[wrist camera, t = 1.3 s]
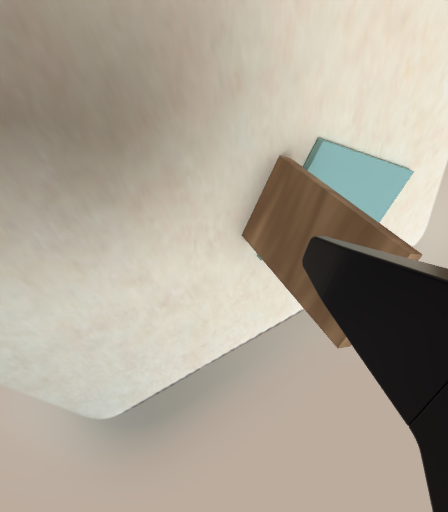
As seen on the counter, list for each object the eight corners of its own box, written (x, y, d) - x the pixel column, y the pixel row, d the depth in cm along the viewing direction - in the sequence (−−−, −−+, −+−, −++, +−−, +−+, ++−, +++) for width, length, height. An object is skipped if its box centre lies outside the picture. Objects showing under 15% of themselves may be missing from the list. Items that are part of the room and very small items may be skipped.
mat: (257, 256, 31) (260, 260, 31) (318, 137, 26) (323, 140, 26) (347, 260, 39) (351, 263, 39) (408, 169, 34) (413, 171, 33)
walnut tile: (241, 235, 29) (337, 348, 21) (279, 155, 26) (410, 253, 18) (253, 236, 30) (350, 346, 22) (291, 158, 26) (422, 254, 18)
